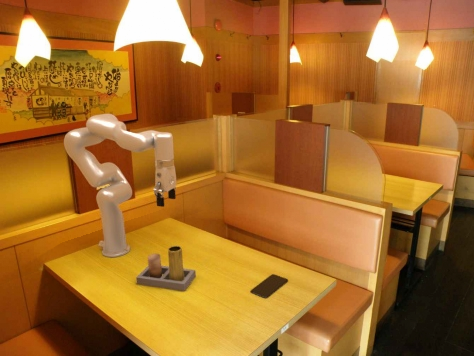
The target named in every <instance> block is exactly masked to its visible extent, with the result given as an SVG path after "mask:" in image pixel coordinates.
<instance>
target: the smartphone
mask: <svg viewBox="0 0 474 356" xmlns="http://www.w3.org/2000/svg"><path fill="white" fill-rule="evenodd" d="M288 281H289V280H288V278H286V277H282V276H281V275H277V274H272V273H271V274H270V275H269V276H268V277H266V278H265V279H264V280H262V281H261V282H259V283H258V284H257V285H256V286H254V287H253V288H251V289H250V291H249V292H250V294H252V295H255V296H258V297H259V298H263V299H265V300H266V299H268V298H270V297H271V296H272V295H274V293H276V292H277V291H278V290H280V288H282V287H283V286H284V285H285V284H287V283H288Z"/></svg>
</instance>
